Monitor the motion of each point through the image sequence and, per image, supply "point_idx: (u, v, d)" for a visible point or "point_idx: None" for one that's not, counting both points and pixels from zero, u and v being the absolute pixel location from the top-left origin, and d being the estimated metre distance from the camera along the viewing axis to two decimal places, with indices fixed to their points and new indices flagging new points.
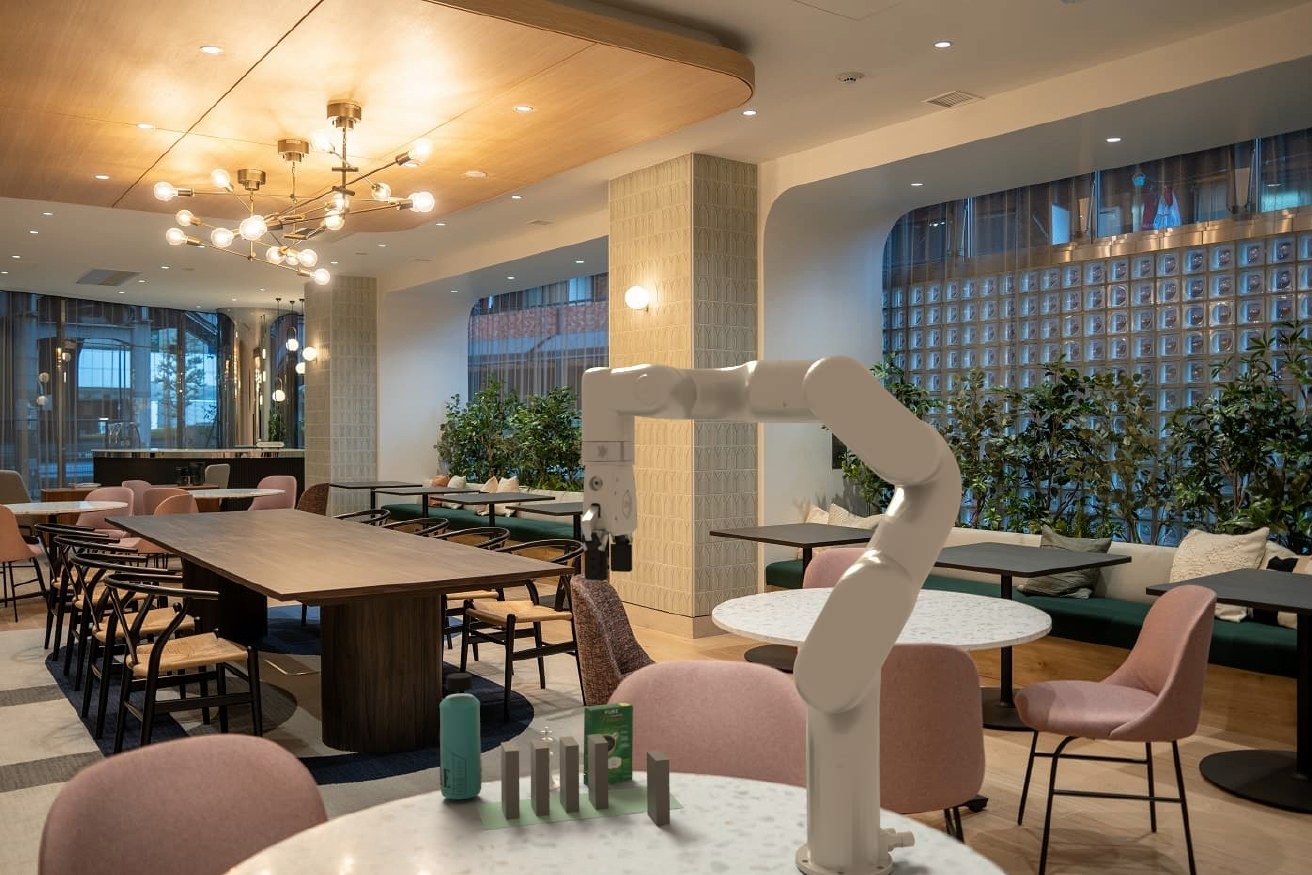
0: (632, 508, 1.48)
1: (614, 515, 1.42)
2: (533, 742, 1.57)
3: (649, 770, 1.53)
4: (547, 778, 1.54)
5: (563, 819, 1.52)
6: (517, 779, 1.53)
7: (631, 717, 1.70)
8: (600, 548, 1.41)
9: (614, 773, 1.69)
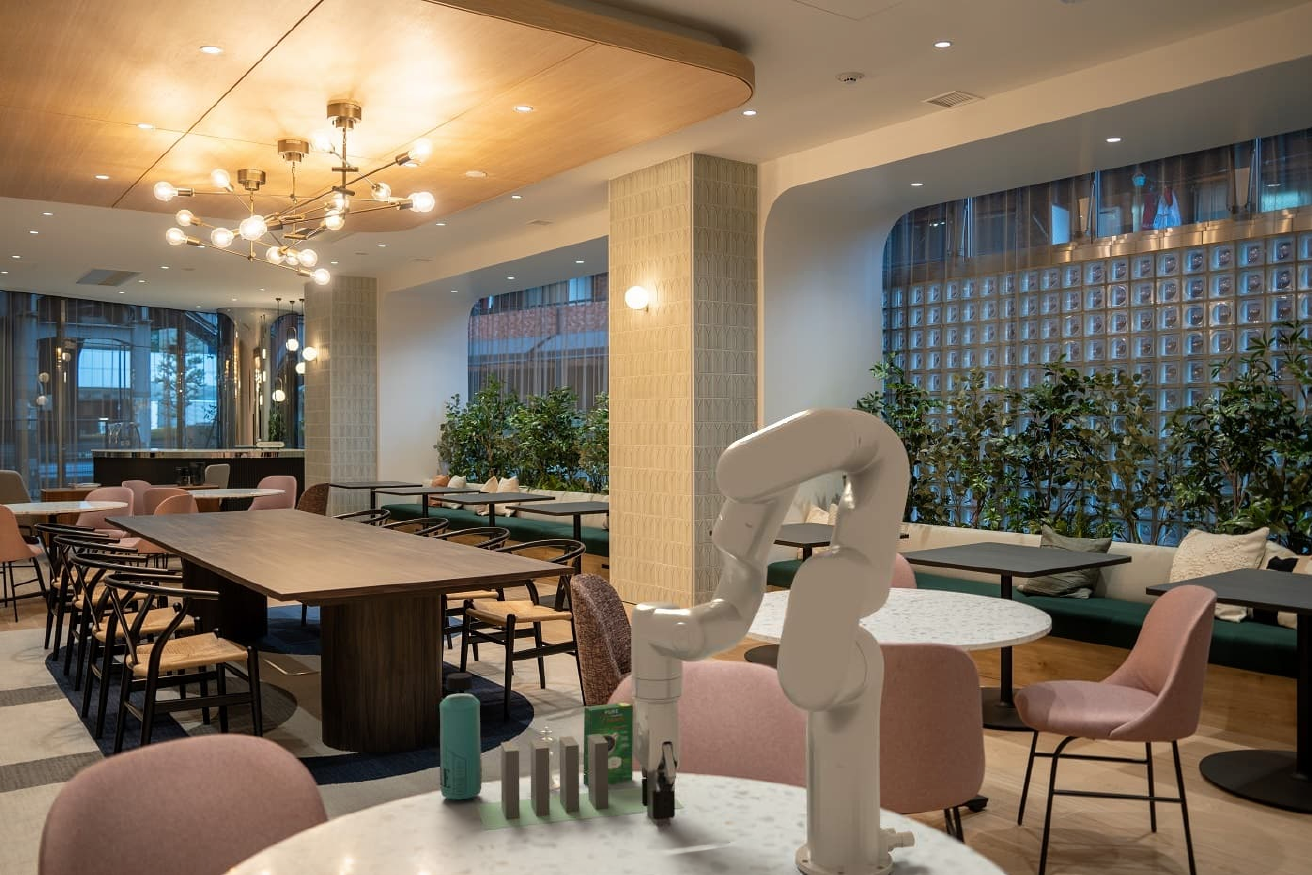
0: (643, 745, 1.49)
1: None
2: (533, 742, 1.57)
3: None
4: (547, 778, 1.54)
5: (563, 819, 1.52)
6: (517, 779, 1.53)
7: (631, 717, 1.70)
8: (643, 773, 1.56)
9: (614, 773, 1.69)
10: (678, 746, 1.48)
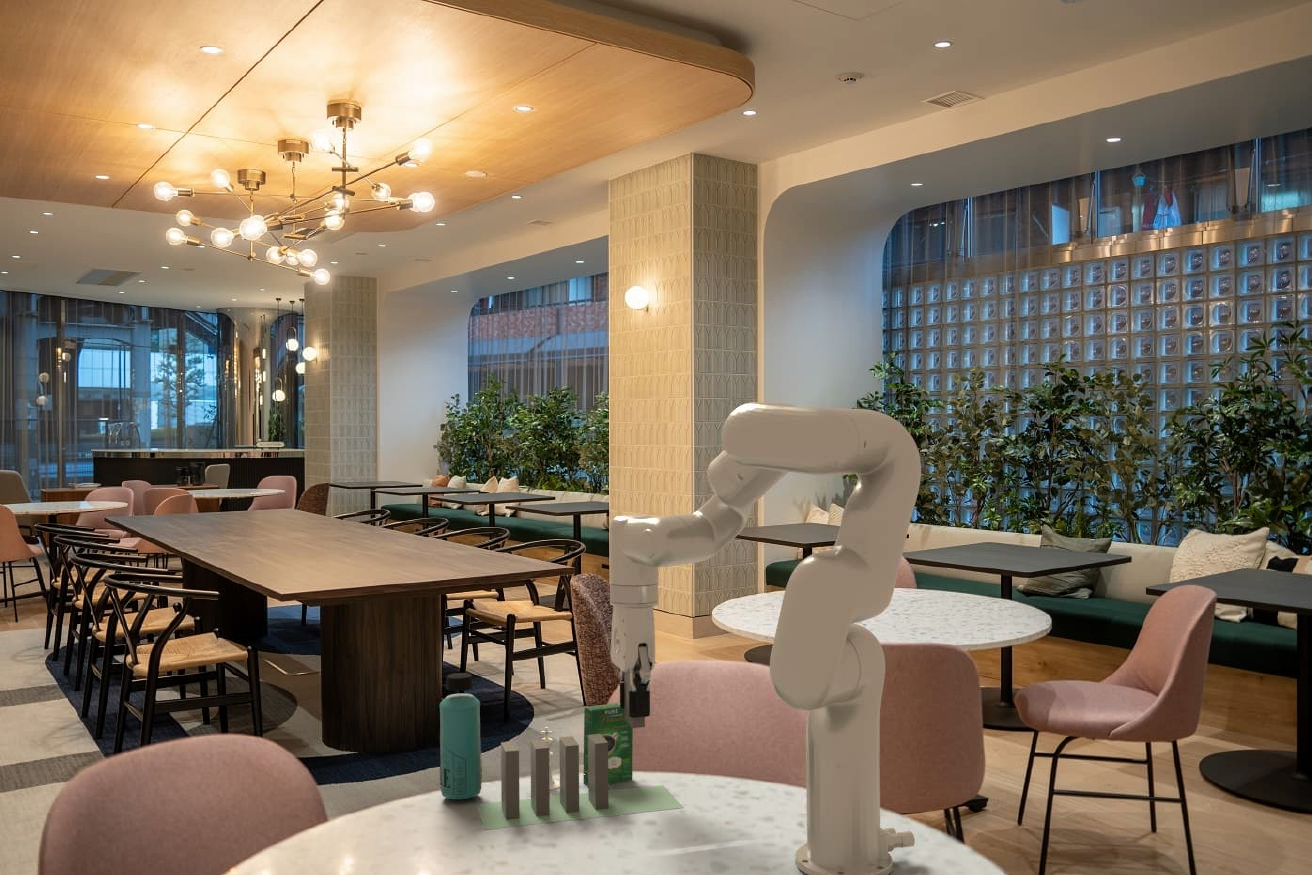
0: (620, 648, 1.58)
1: (611, 643, 1.64)
2: (533, 742, 1.57)
3: (626, 673, 1.61)
4: (547, 778, 1.54)
5: (563, 819, 1.52)
6: (517, 779, 1.53)
7: None
8: (621, 678, 1.64)
9: (614, 773, 1.69)
10: (653, 648, 1.57)
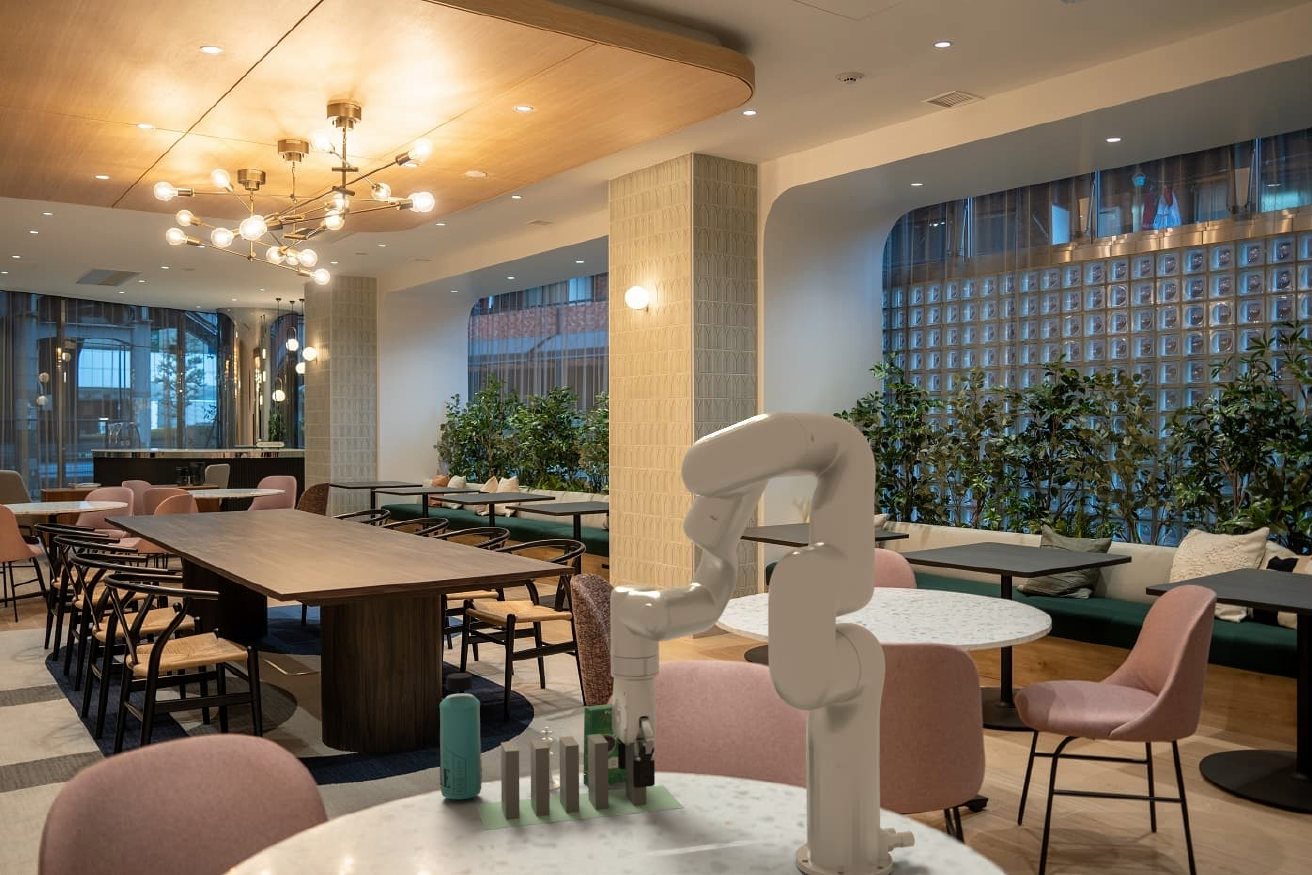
0: (621, 720, 1.58)
1: (612, 713, 1.64)
2: (533, 742, 1.57)
3: (627, 749, 1.61)
4: (547, 778, 1.54)
5: (563, 819, 1.52)
6: (517, 779, 1.53)
7: None
8: (619, 738, 1.66)
9: (614, 773, 1.69)
10: (654, 720, 1.56)
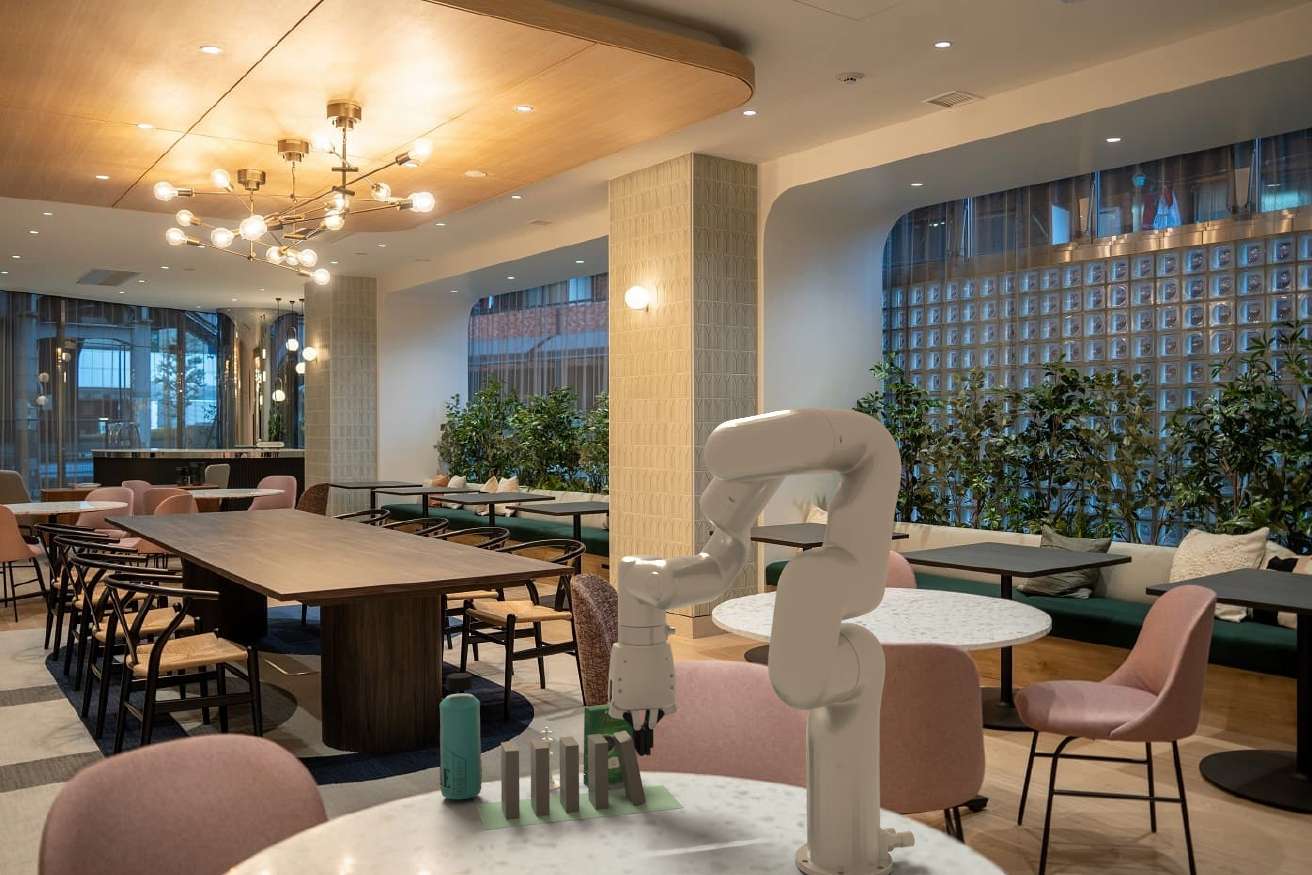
0: None
1: None
2: (533, 742, 1.57)
3: (618, 751, 1.61)
4: (547, 778, 1.54)
5: (563, 819, 1.52)
6: (517, 779, 1.53)
7: None
8: None
9: (614, 773, 1.69)
10: (614, 688, 1.58)
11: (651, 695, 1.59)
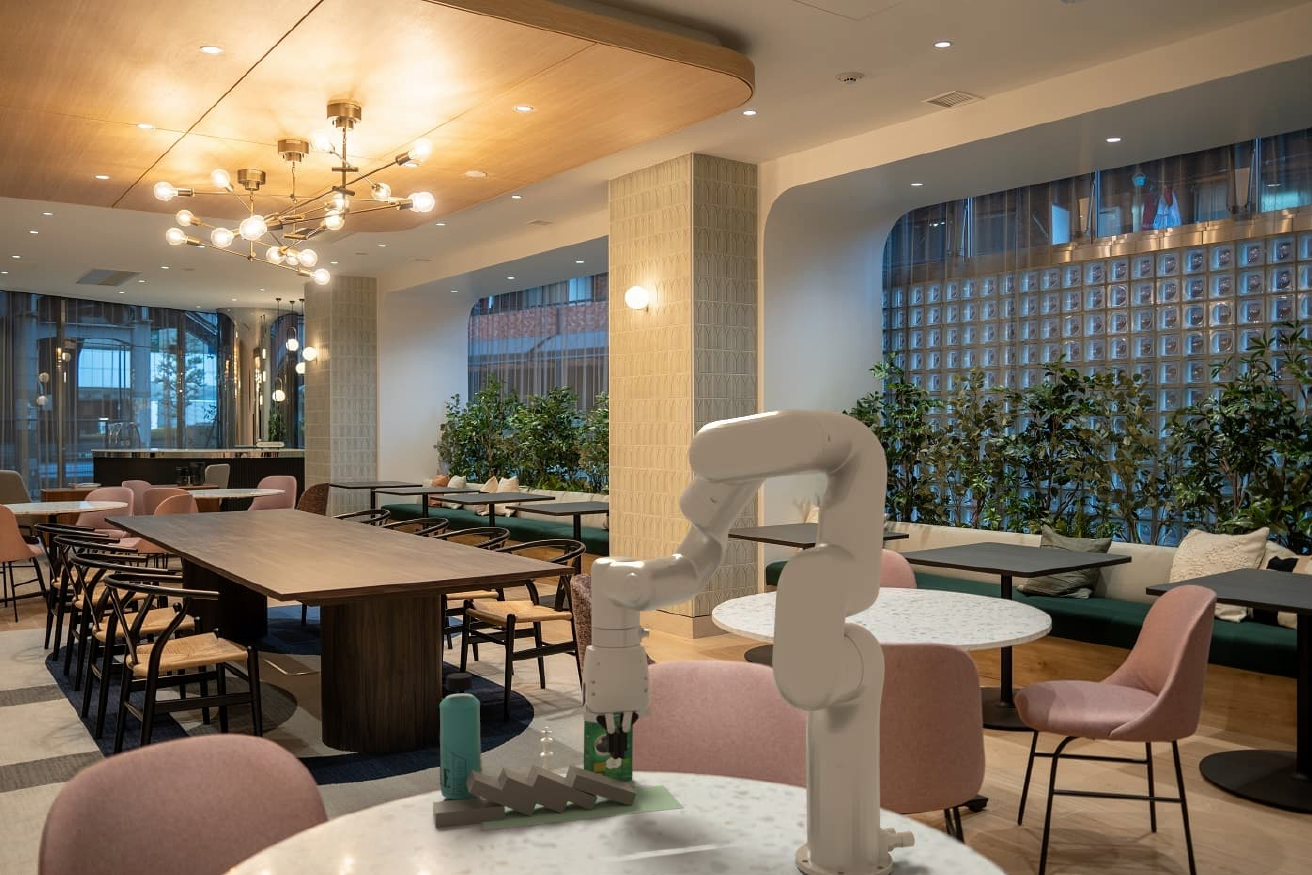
0: None
1: None
2: (467, 783, 1.54)
3: None
4: (502, 792, 1.52)
5: (563, 819, 1.52)
6: (465, 812, 1.51)
7: None
8: None
9: (614, 773, 1.69)
10: (587, 691, 1.57)
11: (624, 698, 1.58)
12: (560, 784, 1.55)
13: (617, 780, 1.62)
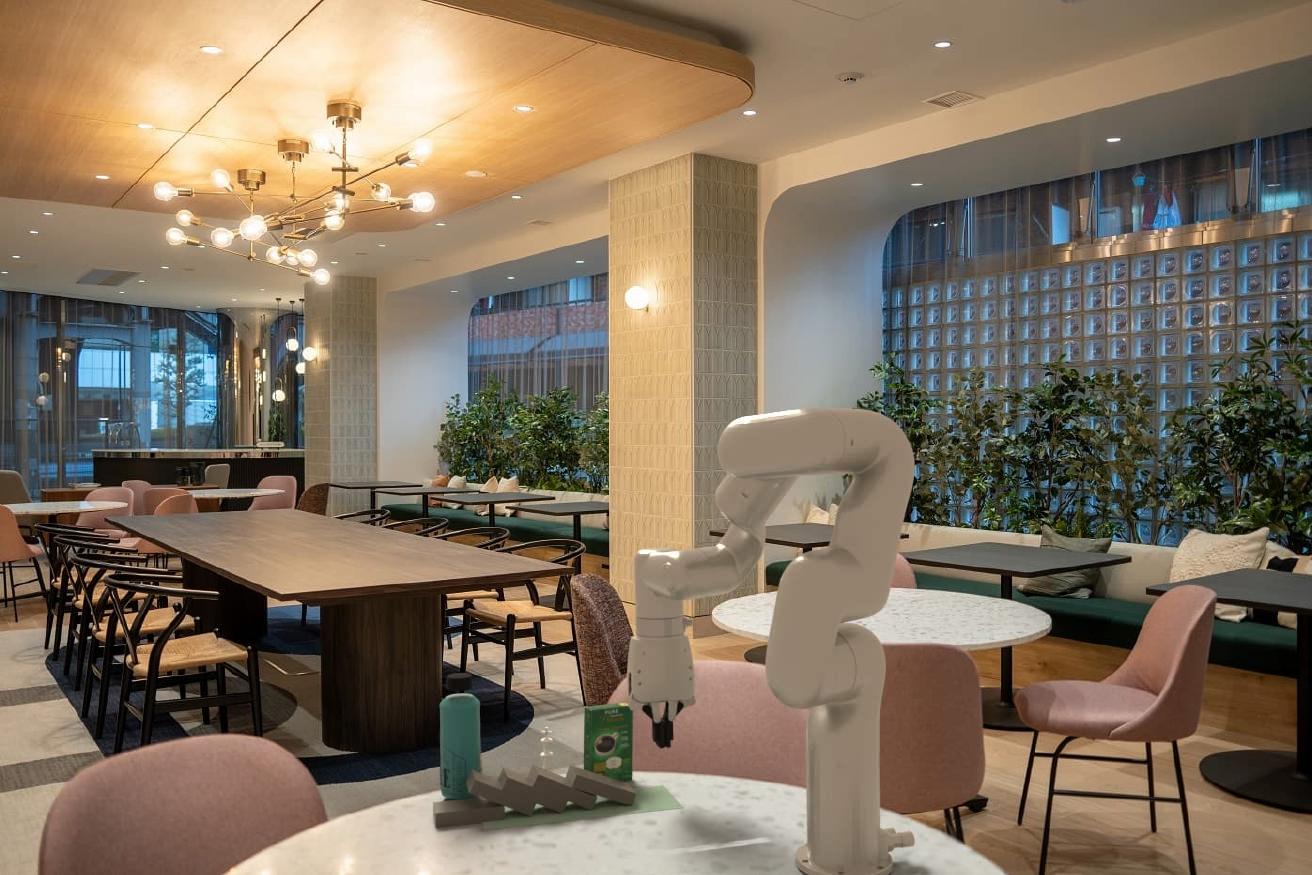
0: None
1: None
2: (467, 783, 1.54)
3: None
4: (502, 792, 1.52)
5: (563, 819, 1.52)
6: (465, 812, 1.51)
7: (631, 717, 1.70)
8: None
9: (614, 773, 1.69)
10: (633, 680, 1.59)
11: (670, 687, 1.59)
12: (560, 784, 1.55)
13: (617, 780, 1.62)
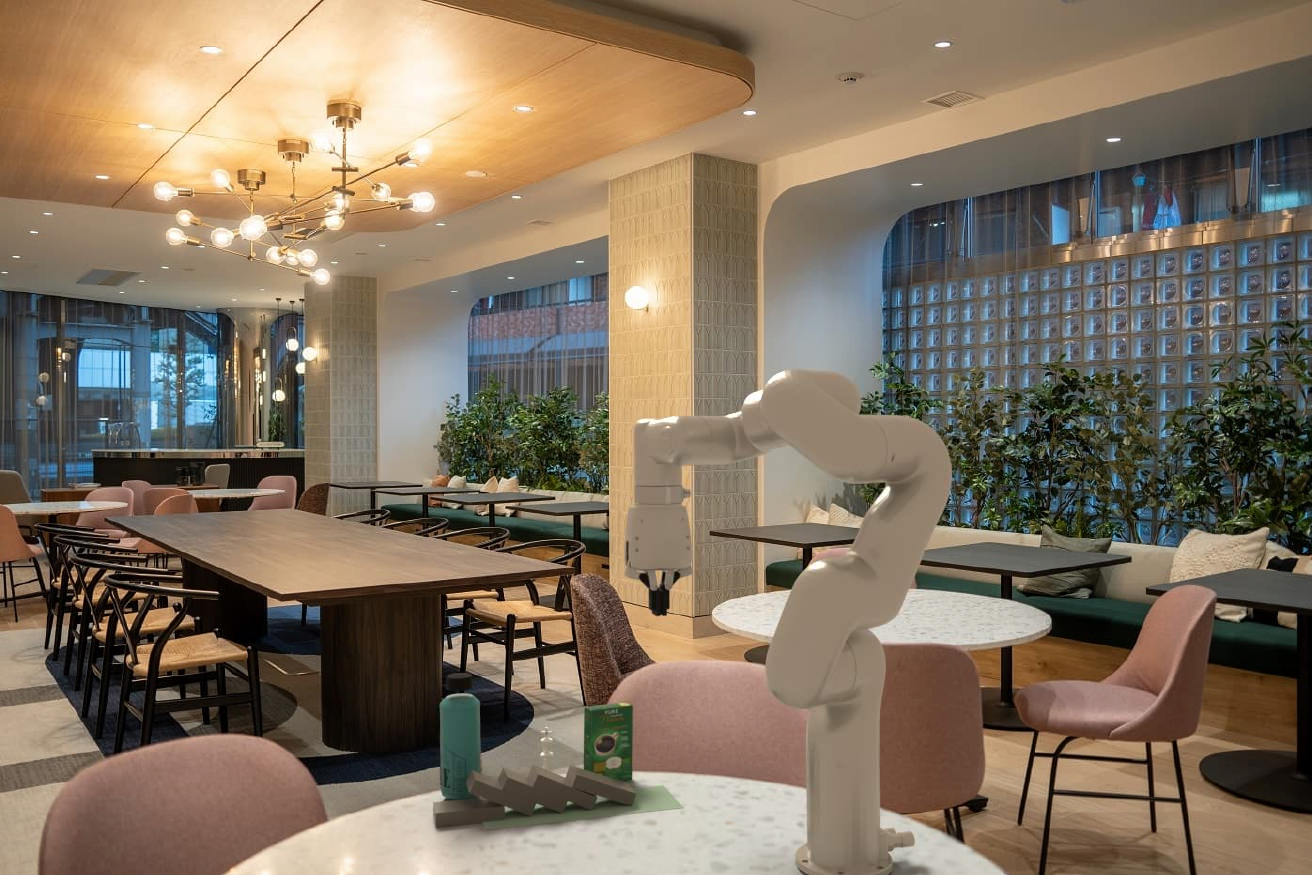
0: None
1: None
2: (467, 783, 1.54)
3: None
4: (502, 792, 1.52)
5: (563, 819, 1.52)
6: (465, 812, 1.51)
7: (631, 717, 1.70)
8: None
9: (614, 773, 1.69)
10: (631, 547, 1.59)
11: (667, 555, 1.60)
12: (560, 784, 1.55)
13: (617, 780, 1.62)
